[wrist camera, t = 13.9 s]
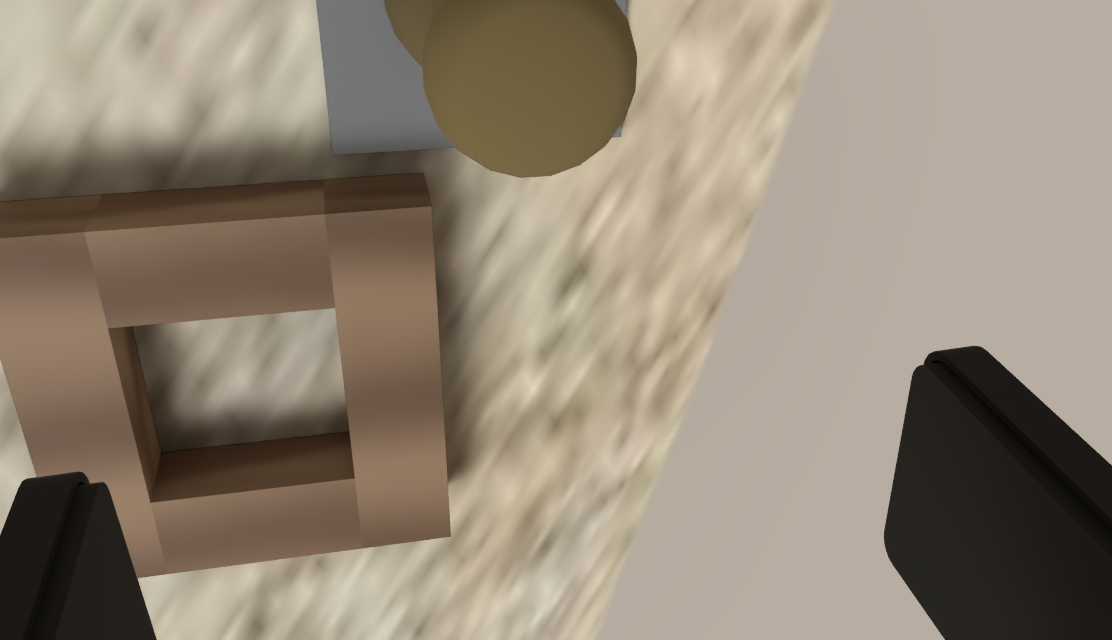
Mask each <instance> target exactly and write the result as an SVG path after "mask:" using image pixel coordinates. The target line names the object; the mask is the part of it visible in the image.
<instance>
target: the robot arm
mask: <svg viewBox="0 0 1112 640" xmlns="http://www.w3.org/2000/svg"><path fill="white" fill-rule="evenodd" d="M884 543H885V547H886V552H887V554H888V557H889V559H890V561H891V563H892V564H893V566H894V567H895V569H896V570H897V571H898V573H899V574H900V576H901V577H902V579H903V580H904V581H905V583H906V584H907V586H908V587H909V589H910V590H911V591H912V593H913V594H914V596H915V597H916V599H917V600H918V602H919V603H920V604H921V606H922V607H923V609H924V610H925V611H926V613H927V615H928V616H929V617H930V619H931V620H932V621H933V623H934V625H935V626H936V627H937V629H938V630H939V632H940V633H941V635H942V636H943V637H944V639H945V640H1112V465H1111V464H1109V463H1108V462H1107V461H1106V460H1105V459H1104V458H1103V457H1102V456H1101V455H1100V454H1099V453H1097V452H1096V451H1095V450H1094V449H1093V448H1092V447H1091V446H1090V445H1089V444H1087V442H1086V441H1084V440H1083V439H1082V438H1081V437H1080V436H1079V435H1078V434H1077V433H1076V432H1075V431H1074V430H1072V429H1071V428H1070V427H1069V426H1068V425H1067V424H1066V423H1065V422H1064V421H1063V420H1062V419H1060V418H1059V417H1058V416H1057V415H1056V414H1055V413H1054V412H1053V411H1052V410H1051V409H1050V408H1048V407H1047V406H1046V405H1045V404H1044V403H1043V402H1042V401H1041V400H1040V399H1039V398H1038V397H1037V396H1035V395H1034V394H1033V393H1032V392H1031V391H1030V390H1029V389H1028V388H1027V387H1026V386H1025V385H1023V384H1022V383H1021V382H1020V381H1019V380H1018V379H1017V378H1016V377H1015V376H1014V375H1012V373H1010V372H1009V371H1008V370H1007V369H1006V368H1005V367H1004V366H1003V365H1002V364H1001V363H1000V362H998V361H997V360H996V359H995V358H994V357H993V356H992V355H991V354H989V352H988V351H986V350H985V349H983V348H982V347H979V346H969V347H963V348H955V349H949V350H942V351H935V352H932V353H930V354H929V355H928V356H927V358H926V359H925V361H924V365H920V366H918V367H917V368H916V369H915V370H914V372H913V376H912V380H911V385H910V391H909V397H908V403H907V408H906V414H905V419H904V424H903V430H902V435H901V441H900V446H899V452H898V458H897V463H896V469H895V474H894V480H893V485H892V491H891V496H890V502H889V508H888V513H887V519H886V524H885V530H884ZM0 640H157V639H156V636H155V633H154V630H153V627H152V624H151V620H150V617H149V614H148V611H147V608H146V605H145V601H144V598H143V595H142V592H141V589H140V586H139V582H138V579H137V576H136V573H135V570H134V567H133V563H132V560H131V557H130V554H129V551H128V548H127V544H126V541H125V538H124V535H123V532H122V529H121V525H120V522H119V519H118V516H117V513H116V510H115V506H114V503H113V500H112V497H111V494H110V491H109V489H108V486H107V485H106V484H105V483H104V482H98V483H91V484H90V482H89V480H88V478H87V476H86V475H85V474H84V473H83V472H80V471H79V472H71V473H64V474H57V475H50V476H43V477H36V478H29V479H26V480H24V481H22V483H21V485H20V486H19V488H18V491H17V494H16V496H15V499H14V501H13V504H12V506H11V509H10V512H9V514H8V517H7V519H6V522H5V524H4V527H3V530H2V532H1V535H0Z"/></svg>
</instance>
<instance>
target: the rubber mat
mask: <svg viewBox="0 0 1112 640" xmlns="http://www.w3.org/2000/svg"><path fill="white" fill-rule="evenodd" d="M615 1H616V3H617V4H618V6H619V7H620V9H621V10H622V12H623V13H624V15H625V16H626V3H627V0H615ZM316 2H317V12H318V21H319V30H320V40H321V49H322V58H323V68H324V77H325V86H326V96H327V105H328V114H329V123H330V133H331V142H332V151H333V155H345V154H361V153H376V152H392V151H407V150H423V149H438V148H454V147H455V146H454V145H453V144H452V142H451V141H450V140H449V139H448V138H447V136H446V135H445V134H444V133H443V132H442V130H441V129H440V128H439V127H438V125H437V123H436V121H435V118H434V115H433V113H432V110H431V108H430V105H429V103H428V100H427V97H426V95H425V91H424V87H423V67H422V66H421V65H420V64H419V63H418V62H417V61H416V60H415V59H414V58H413V57H412V56H411V54H410V53H409V52H408V51H407V49H406V48H405V47H404V46H403V44H402V43H401V42H400V41H399V39H398V38H397V37H396V35H395V33H394V30H393V28H392V25H391V22H390V20H389V17H388V15H387V12H386V10H385V3H384V0H316ZM621 130H622V124H621V126H620V127H619V128H618V130H617V131H616V132H615V134H614V135H613V136H612V137H621Z"/></svg>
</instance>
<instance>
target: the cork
mask: <svg viewBox="0 0 1112 640" xmlns="http://www.w3.org/2000/svg"><path fill="white" fill-rule="evenodd" d="M384 3H385V10H386V12H387V15H388V17H389V20H390V22H391V25H392V28H393V30H394V33H395V35H396V37H397V38H398V39H399V41H400V42H401V43H402V44H403V46H404V47H405V48H406V49H407V51H408V52H409V53H410V54H411V56H412V57H413V58H414V59H415V60H416V61H417V62H418V63H419V64H420V65H421V66H422V67H423V87H424V91H425V95H426V97H427V100H428V103H429V105H430V108H431V110H432V113H433V115H434V118H435V121H436V123H437V125H438V127H439V128H440V129H441V130H442V132H443V133H444V134H445V135H446V136H447V138H448V139H449V140H450V141H451V142H452V144H453V145H454V146H455V147H456V148H457V150H459V151H460V152H462V153H463V154H465V155H467V156H468V157H470V158H471V159H473V160H475V161H476V162H478V163H479V164H481V165H483V166H484V167H486V168H488V169H489V170H491V171H495V172H499V173H504V174H508V175H512V176H516V177H520V178H522V177H538V176H552V175H554V174H557V173H560V172H562V171H565V170H568V169H570V168H573V167H576V166H578V165H581V164H582V163H583V162H585V161H586V160H587V159H589V158H590V157H591V156H593V155H594V154H595V153H597V152H598V151H599V150H601V149H602V148H603V147H605V146H606V144H607V143H608V142H609V140H610V139H611V138H612V136H613V135H614V134H615V132H616V131H617V130H618V128H619V127H620V126H621V124H622V123H623V122H624V120H625V117H626V115H627V112H628V109H629V106H630V104H631V101H632V98H633V96H634V93H635V87H636V68H637V54H636V49H635V45H634V42H633V38H632V34H631V30H630V26H629V23H628V19H627V18H626V16H625V15H624V13H623V12H622V10H621V9H620V7H619V6H618V4H617V3H616V1H615V0H384Z"/></svg>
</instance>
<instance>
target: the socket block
mask: <svg viewBox="0 0 1112 640" xmlns="http://www.w3.org/2000/svg"><path fill="white" fill-rule="evenodd" d="M328 308H335V310H336V318H337V327H338V336H339V344H340V353H341V362H342V370H343V379H344V388H345V397H346V405H347V414H348V423H349V431H350V432H343V433H334V434H325V435H316V436H307V437H298V438H289V439H281V440H272V441H263V442H254V443H245V444H236V445H227V446H218V447H209V448H200V449H191V450H182V451H173V452H164V453H161V450H160V446H159V442H158V437H157V433H156V429H155V424H154V420H153V416H152V411H151V407H150V403H149V398H148V394H147V390H146V385H145V381H144V376H143V372H142V368H141V363H140V359H139V355H138V350H137V346H136V342H135V337H134V333H133V329H132V326H140V325H151V324H162V323H173V322H184V321H195V320H206V319H217V318H228V317H240V316H251V315H262V314H273V313H284V312H295V311H306V310H317V309H328ZM0 359H1V363H2V366H3V369H4V372H5V376H6V379H7V382H8V385H9V389H10V392H11V395H12V398H13V402H14V405H15V408H16V411H17V414H18V418H19V421H20V424H21V427H22V431H23V434H24V437H25V440H26V444H27V447H28V450H29V453H30V457H31V460H32V463H33V466H34V470H35V473H36V476H37V477H43V476H50V475H57V474H64V473H71V472H79V471H80V472H83V473H84V474H85V475H86V476H87V478H88V480H89V482H90V484H91V483H98V482H104V483H105V484H106V485H107V486H108V489H109V491H110V494H111V497H112V500H113V503H114V506H115V510H116V513H117V516H118V519H119V522H120V525H121V529H122V532H123V535H124V538H125V541H126V544H127V548H128V551H129V554H130V557H131V560H132V563H133V567H134V570H135V573H136V576H137V578H141V577H149V576H156V575H164V574H172V573H179V572H187V571H194V570H202V569H209V568H217V567H225V566H232V565H240V564H247V563H255V562H262V561H270V560H278V559H285V558H293V557H300V556H308V555H315V554H323V553H330V552H338V551H346V550H353V549H361V548H368V547H376V546H383V545H391V544H399V543H406V542H414V541H421V540H429V539H436V538H444V537H451V531H450V514H449V497H448V480H447V462H446V445H445V428H444V411H443V394H442V377H441V360H440V343H439V326H438V309H437V292H436V274H435V257H434V240H433V223H432V206H431V202H430V198H429V194H428V190H427V186H426V182H425V178H424V174H423V173H414V174H399V175H384V176H370V177H355V178H340V179H326V180H311V181H297V182H282V183H267V184H253V185H238V186H223V187H209V188H194V189H180V190H165V191H150V192H136V193H121V194H106V195H92V196H77V197H62V198H48V199H33V200H19V201H4V202H0Z"/></svg>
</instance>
